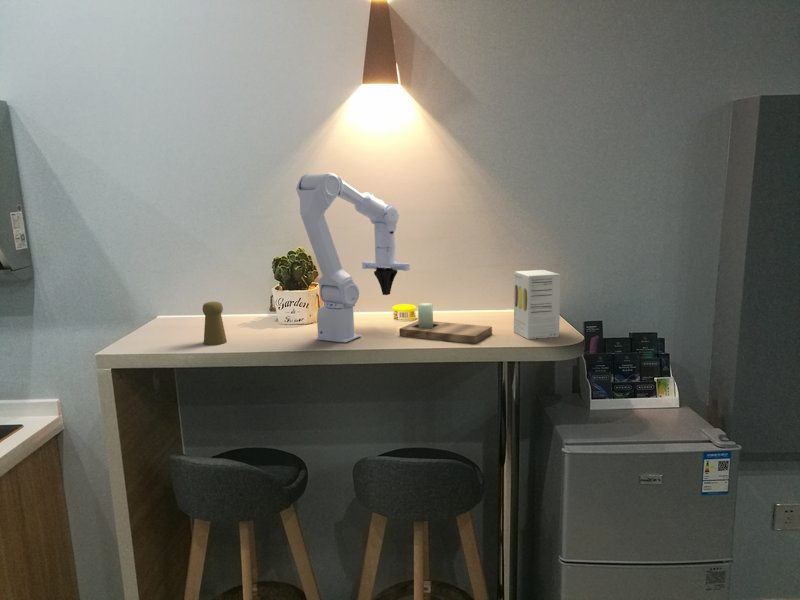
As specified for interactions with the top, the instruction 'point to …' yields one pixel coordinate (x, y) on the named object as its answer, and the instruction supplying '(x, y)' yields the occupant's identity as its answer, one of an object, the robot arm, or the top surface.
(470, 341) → the walnut board
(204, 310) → the cork
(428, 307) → the peg
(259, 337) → the top surface
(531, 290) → the supplement box
